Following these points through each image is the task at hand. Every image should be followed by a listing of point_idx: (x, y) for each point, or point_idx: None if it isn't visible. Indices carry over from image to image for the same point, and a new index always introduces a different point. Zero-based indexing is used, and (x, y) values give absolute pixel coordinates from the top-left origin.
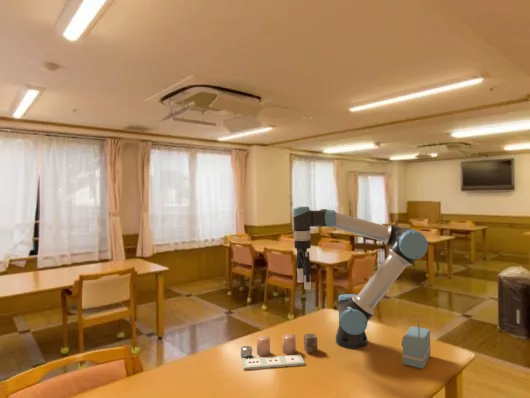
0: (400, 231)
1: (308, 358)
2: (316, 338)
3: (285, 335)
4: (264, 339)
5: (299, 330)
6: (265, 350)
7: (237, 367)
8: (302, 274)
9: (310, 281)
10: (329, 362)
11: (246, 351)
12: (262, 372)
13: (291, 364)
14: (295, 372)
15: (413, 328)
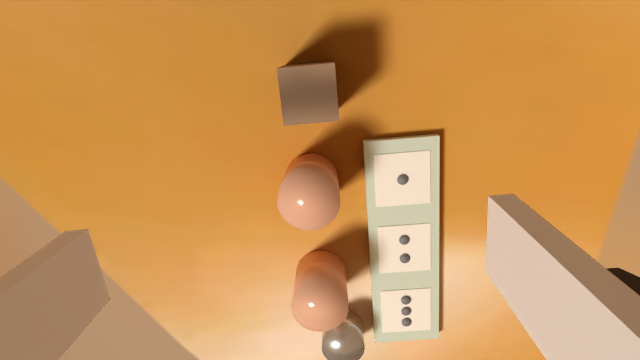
0: None
1: (382, 109)
2: (334, 66)
3: (294, 215)
4: (332, 303)
5: (75, 105)
6: (345, 278)
7: (414, 349)
8: (2, 311)
9: (578, 250)
10: (431, 25)
11: (363, 345)
12: (462, 280)
13: (438, 186)
14: (485, 175)
15: None
